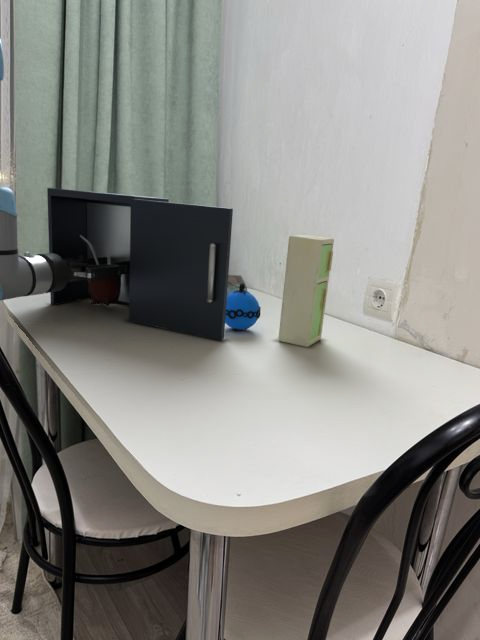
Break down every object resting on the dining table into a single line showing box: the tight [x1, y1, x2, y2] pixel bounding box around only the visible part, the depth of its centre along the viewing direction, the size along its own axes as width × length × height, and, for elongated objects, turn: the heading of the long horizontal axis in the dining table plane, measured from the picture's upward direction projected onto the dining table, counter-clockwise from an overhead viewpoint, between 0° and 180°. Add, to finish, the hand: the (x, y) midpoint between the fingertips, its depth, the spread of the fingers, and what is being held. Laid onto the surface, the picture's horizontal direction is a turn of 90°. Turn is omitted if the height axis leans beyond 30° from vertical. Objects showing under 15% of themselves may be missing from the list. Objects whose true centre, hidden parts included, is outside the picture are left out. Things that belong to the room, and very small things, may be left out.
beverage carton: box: [227, 274, 248, 295], centre depth 134 cm, size 8×19×7 cm, turn 6°
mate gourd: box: [80, 235, 121, 307], centre depth 113 cm, size 8×8×15 cm
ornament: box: [225, 283, 261, 331], centre depth 107 cm, size 9×9×10 cm
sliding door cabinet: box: [46, 187, 234, 341], centre depth 108 cm, size 45×15×26 cm, turn 66°
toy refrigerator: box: [278, 234, 335, 348], centre depth 101 cm, size 8×7×21 cm
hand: (118, 264), depth 117 cm, fingers closed on mate gourd, 6 cm apart
